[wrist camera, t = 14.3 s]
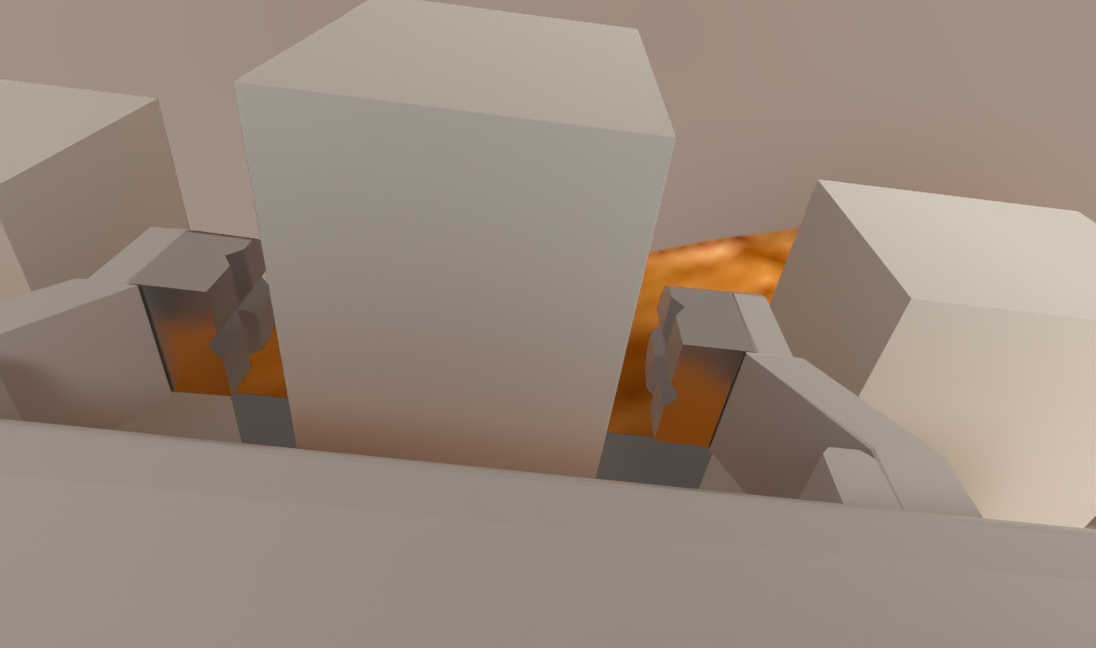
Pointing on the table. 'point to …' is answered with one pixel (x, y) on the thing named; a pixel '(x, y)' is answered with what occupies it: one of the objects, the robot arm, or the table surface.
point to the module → (456, 229)
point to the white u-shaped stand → (797, 304)
